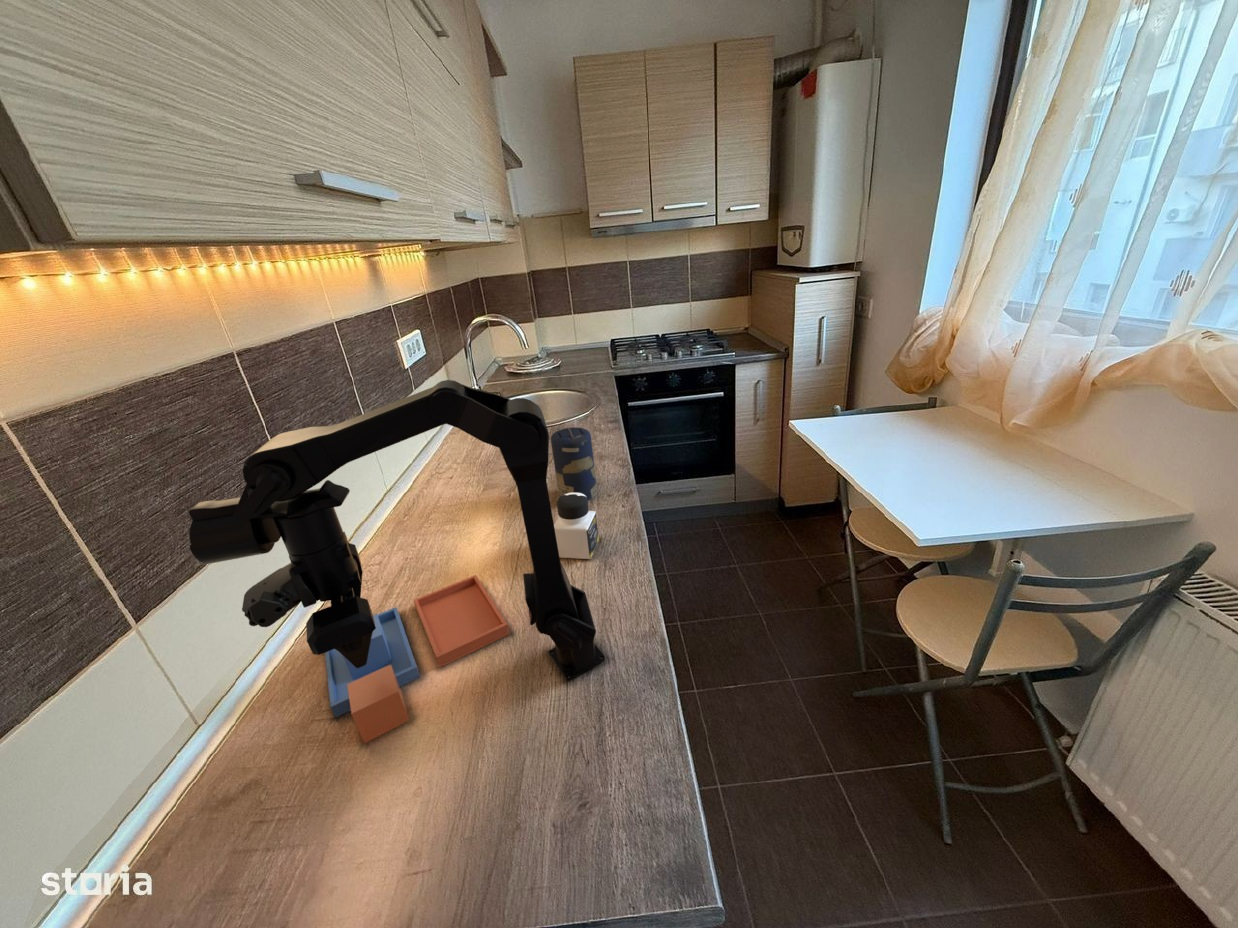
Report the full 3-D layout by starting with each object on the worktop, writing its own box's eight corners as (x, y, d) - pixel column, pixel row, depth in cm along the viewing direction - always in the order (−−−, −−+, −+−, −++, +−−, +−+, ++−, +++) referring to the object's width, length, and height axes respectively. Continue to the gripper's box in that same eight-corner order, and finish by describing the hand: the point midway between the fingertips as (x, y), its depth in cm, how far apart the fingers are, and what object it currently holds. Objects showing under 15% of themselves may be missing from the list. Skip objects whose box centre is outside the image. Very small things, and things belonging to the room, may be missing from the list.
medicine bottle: (590, 560, 93) (584, 506, 88) (556, 558, 95) (548, 505, 90) (599, 539, 100) (593, 489, 95) (566, 538, 101) (559, 488, 96)
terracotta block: (409, 720, 64) (398, 691, 61) (364, 743, 61) (351, 713, 59) (401, 692, 68) (390, 664, 66) (359, 712, 65) (346, 684, 63)
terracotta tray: (509, 634, 77) (507, 624, 76) (439, 667, 71) (436, 657, 70) (478, 583, 89) (475, 574, 88) (416, 609, 84) (413, 599, 83)
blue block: (392, 661, 72) (382, 634, 70) (352, 679, 70) (341, 651, 68) (386, 640, 77) (377, 613, 74) (349, 656, 74) (337, 629, 72)
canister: (597, 486, 122) (590, 420, 115) (597, 504, 114) (590, 434, 106) (560, 489, 122) (551, 423, 115) (557, 507, 114) (547, 437, 106)
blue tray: (420, 677, 70) (416, 666, 69) (335, 717, 65) (330, 707, 64) (399, 616, 83) (396, 606, 82) (327, 645, 77) (322, 636, 76)
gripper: (239, 531, 59) (286, 628, 65) (220, 616, 44) (283, 731, 50) (339, 502, 64) (374, 595, 70) (353, 570, 49) (394, 679, 56)
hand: (357, 642), depth 61 cm, fingers open, 9 cm apart
